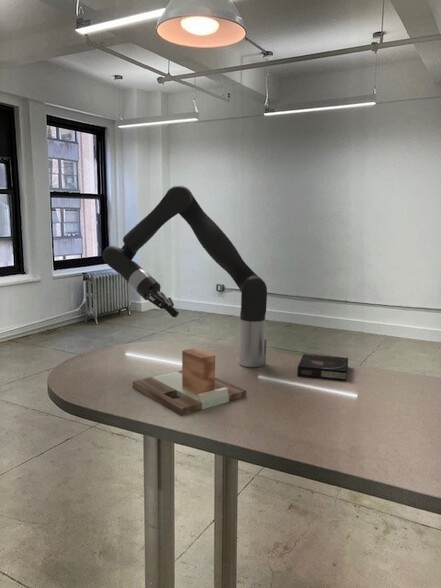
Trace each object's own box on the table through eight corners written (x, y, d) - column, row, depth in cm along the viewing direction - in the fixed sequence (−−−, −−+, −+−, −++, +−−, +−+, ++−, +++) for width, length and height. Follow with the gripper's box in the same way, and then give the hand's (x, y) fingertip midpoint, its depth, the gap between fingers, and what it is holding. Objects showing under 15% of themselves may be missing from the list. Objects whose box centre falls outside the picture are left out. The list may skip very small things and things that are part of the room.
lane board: (193, 373, 173) (193, 362, 172) (246, 396, 151) (246, 384, 150) (132, 387, 158) (132, 375, 157) (181, 415, 136) (181, 401, 136)
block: (195, 384, 155) (195, 347, 153) (214, 393, 147) (215, 355, 146) (182, 388, 152) (182, 350, 150) (201, 397, 144) (201, 358, 142)
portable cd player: (297, 377, 171) (297, 366, 170) (303, 363, 187) (303, 353, 187) (345, 383, 166) (346, 371, 166) (347, 368, 183) (348, 357, 182)
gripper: (139, 273, 166) (173, 305, 159) (160, 278, 178) (192, 308, 171) (127, 290, 168) (159, 322, 161) (148, 294, 179) (179, 324, 173)
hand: (176, 315), depth 166 cm, fingers closed
